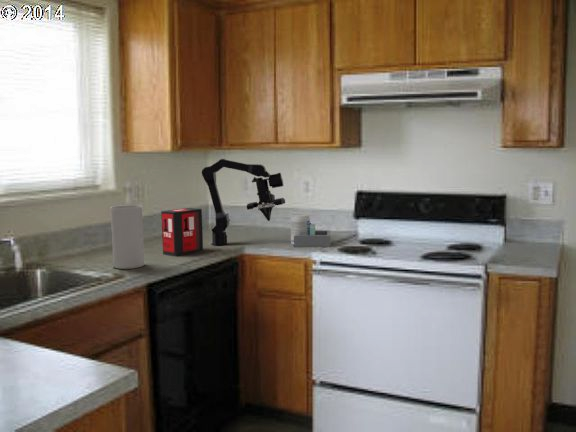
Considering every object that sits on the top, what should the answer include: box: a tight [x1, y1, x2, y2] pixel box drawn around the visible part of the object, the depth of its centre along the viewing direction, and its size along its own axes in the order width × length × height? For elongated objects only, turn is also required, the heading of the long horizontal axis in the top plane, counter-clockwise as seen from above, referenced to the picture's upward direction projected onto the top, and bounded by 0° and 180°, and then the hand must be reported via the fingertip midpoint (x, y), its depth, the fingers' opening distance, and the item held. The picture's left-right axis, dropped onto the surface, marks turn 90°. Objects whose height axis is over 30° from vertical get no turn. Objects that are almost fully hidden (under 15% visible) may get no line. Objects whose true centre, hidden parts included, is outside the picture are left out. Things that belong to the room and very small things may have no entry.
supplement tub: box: [290, 213, 311, 246], centre depth 300 cm, size 10×10×15 cm
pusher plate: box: [310, 223, 316, 235], centre depth 300 cm, size 2×13×9 cm, turn 176°
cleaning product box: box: [160, 207, 204, 257], centre depth 282 cm, size 16×9×20 cm, turn 139°
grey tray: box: [293, 230, 331, 248], centre depth 300 cm, size 18×17×6 cm
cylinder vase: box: [110, 204, 145, 270], centre depth 251 cm, size 12×12×25 cm
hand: (268, 220), depth 300 cm, fingers closed
